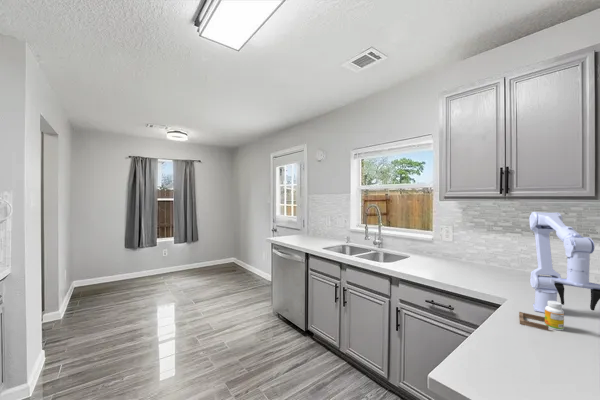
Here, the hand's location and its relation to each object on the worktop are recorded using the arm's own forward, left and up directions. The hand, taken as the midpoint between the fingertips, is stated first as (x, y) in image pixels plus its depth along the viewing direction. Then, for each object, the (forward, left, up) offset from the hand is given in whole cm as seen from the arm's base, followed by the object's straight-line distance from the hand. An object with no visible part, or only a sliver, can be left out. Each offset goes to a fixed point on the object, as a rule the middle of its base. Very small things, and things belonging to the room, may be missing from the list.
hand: (577, 306), depth 99 cm
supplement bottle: (-2, -6, -11) cm, 12 cm away
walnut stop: (-2, -11, -10) cm, 15 cm away
